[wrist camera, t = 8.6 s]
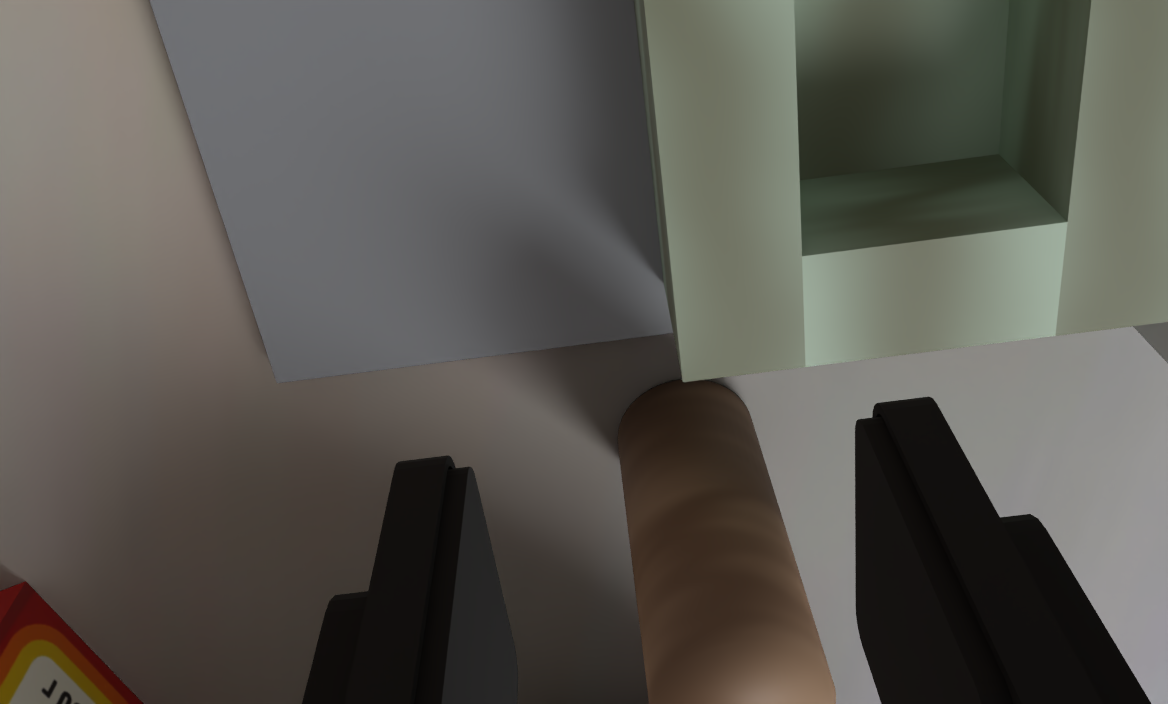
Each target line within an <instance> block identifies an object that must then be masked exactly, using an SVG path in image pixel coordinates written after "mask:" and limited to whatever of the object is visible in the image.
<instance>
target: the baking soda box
mask: <svg viewBox="0 0 1168 704" xmlns="http://www.w3.org/2000/svg"><path fill="white" fill-rule="evenodd" d="M0 704H143V703H142V702H141V701H140V700H139V699H138V698H137V697H136V696H135V695H134V693H133V692H132V691H131V690H130V689H129V688H128V687H127V686H126V685H125V684H124V683H123V682H122V681H121V680H120V679H119V678H118V677H117V676H116V675H115V674H114V673H113V672H112V671H111V670H110V669H109V667H108V666H107V665H106V664H105V663H104V662H103V661H102V660H101V659H100V658H99V657H98V656H97V655H96V654H95V653H94V652H93V651H92V650H91V649H90V648H89V647H88V646H87V645H86V644H85V643H84V641H83V640H82V639H81V638H80V637H79V636H78V635H77V634H76V633H75V632H74V631H73V630H72V629H71V628H70V627H69V626H68V625H67V624H66V623H65V622H64V621H63V620H62V619H61V618H60V617H59V615H58V614H57V613H56V612H55V611H54V610H53V609H52V608H51V607H50V606H49V605H48V604H47V603H46V602H45V601H44V600H43V599H42V598H41V597H40V596H39V595H38V594H37V593H36V592H35V591H34V589H33V588H32V587H31V586H30V585H29V584H28V583H27V582H26V581H25V582H23V583H20V584H17V585H15V586H12V587H10V588H7V589H5V590H2V591H0Z"/></svg>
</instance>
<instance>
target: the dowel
mask: <svg viewBox="0 0 1168 704" xmlns="http://www.w3.org/2000/svg"><path fill="white" fill-rule="evenodd" d="M618 449H619V457H620V465H621V474H622V482H623V490H624V499H625V507H626V515H627V524H628V532H629V540H630V549H631V557H632V565H633V574H634V582H635V591H636V599H637V607H638V616H639V624H640V632H641V641H642V649H643V657H644V666H645V674H646V682H647V691H648V699H649V704H836V692H835V686H834V683H833V680H832V677H831V673H830V670H829V667H828V664H827V661H826V657H825V654H824V651H823V648H822V644H821V641H820V638H819V635H818V632H817V628H816V625H815V622H814V619H813V615H812V612H811V609H810V606H809V603H808V599H807V596H806V593H805V590H804V586H803V583H802V580H801V577H800V574H799V570H798V567H797V564H796V561H795V557H794V554H793V551H792V548H791V545H790V541H789V538H788V535H787V532H786V528H785V525H784V522H783V519H782V516H781V512H780V509H779V506H778V503H777V499H776V496H775V493H774V490H773V487H772V483H771V480H770V477H769V474H768V470H767V467H766V464H765V461H764V458H763V454H762V451H761V448H760V445H759V441H758V438H757V435H756V432H755V429H754V425H753V422H752V419H751V416H750V413H749V411H748V409H747V407H746V405H745V404H744V403H743V401H742V400H741V399H740V398H739V397H738V396H737V395H736V394H735V393H733V392H732V391H730V390H729V389H727V388H725V387H723V386H722V385H719V384H716V383H714V382H710V381H706V380H697V381H689V382H682V380H676V381H671V382H667V383H664V384H661V385H659V386H656V387H654V388H652V389H650V390H649V391H647V392H645V393H644V394H643V395H641V396H640V397H639V398H637V399H636V400H635V401H634V402H633V403H632V404H631V406H630V407H629V408H628V410H627V411H626V413H625V414H624V416H623V418H622V420H621V423H620V426H619V430H618Z"/></svg>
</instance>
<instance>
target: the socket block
mask: <svg viewBox="0 0 1168 704" xmlns="http://www.w3.org/2000/svg"><path fill="white" fill-rule="evenodd" d="M634 9H635V18H636V27H637V37H638V46H639V56H640V65H641V74H642V84H643V93H644V103H645V112H646V121H647V131H648V140H649V149H650V159H651V168H652V178H653V187H654V196H655V206H656V215H657V225H658V234H659V243H660V253H661V262H662V272H663V281H664V288H665V293H666V298H667V303H668V309H669V314H670V319H671V324H672V329H673V335H674V340H675V345H676V350H677V355H678V361H679V366H680V371H681V376H682V382H689V381H697V380H705V379H713V378H722V377H730V376H738V375H746V374H754V373H762V372H770V371H778V370H786V369H794V368H802V367H810V366H818V365H826V364H834V363H842V362H850V361H858V360H866V359H874V358H882V357H890V356H898V355H906V354H914V353H922V352H930V351H938V350H946V349H954V348H962V347H970V346H978V345H986V344H994V343H1002V342H1010V341H1018V340H1026V339H1034V338H1042V337H1051V336H1059V335H1067V334H1075V333H1083V332H1091V331H1099V330H1107V329H1115V328H1123V327H1131V326H1139V325H1147V324H1155V323H1163V322H1168V0H634Z"/></svg>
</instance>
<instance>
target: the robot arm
mask: <svg viewBox="0 0 1168 704" xmlns="http://www.w3.org/2000/svg"><path fill="white" fill-rule="evenodd" d="M855 519H856V616H857V624H858V630H859V634H860V639H861V642H862V646H863V649H864V652H865V655H866V658H867V661H868V664H869V667H870V670H871V673H872V676H873V679H874V682H875V685H876V688H877V691H878V694H879V697H880V700H881V703H882V704H1151V702H1150V701H1149V699H1148V697H1147V696H1146V694H1145V692H1144V691H1143V689H1142V687H1141V686H1140V684H1139V682H1138V681H1137V679H1136V677H1135V676H1134V674H1133V673H1132V671H1131V669H1130V668H1129V666H1128V664H1127V663H1126V661H1125V659H1124V658H1123V656H1122V654H1121V653H1120V651H1119V649H1118V648H1117V646H1116V644H1115V643H1114V641H1113V639H1112V638H1111V636H1110V634H1109V633H1108V631H1107V629H1106V628H1105V626H1104V624H1103V623H1102V621H1101V619H1100V618H1099V616H1098V614H1097V613H1096V611H1095V610H1094V608H1093V606H1092V605H1091V603H1090V601H1089V600H1088V598H1087V596H1086V595H1085V593H1084V591H1083V590H1082V588H1081V586H1080V585H1079V583H1078V581H1077V580H1076V578H1075V576H1074V575H1073V573H1072V571H1071V570H1070V568H1069V566H1068V565H1067V563H1066V561H1065V560H1064V558H1063V556H1062V555H1061V553H1060V551H1059V550H1058V548H1057V546H1056V545H1055V543H1054V542H1053V540H1052V538H1051V537H1050V535H1049V533H1048V532H1047V530H1046V528H1045V527H1044V526H1043V525H1042V523H1041V522H1040V521H1039V519H1038V518H1036V517H1034V516H1033V515H1031V514H1027V515H1018V516H1010V517H1001V518H1000V517H999V515H998V514H997V512H996V510H995V508H994V506H993V504H992V503H991V501H990V499H989V497H988V495H987V494H986V492H985V490H984V488H983V486H982V485H981V483H980V481H979V479H978V477H977V476H976V474H975V472H974V470H973V468H972V467H971V465H970V463H969V461H968V459H967V458H966V456H965V454H964V452H963V450H962V449H961V447H960V445H959V443H958V441H957V440H956V438H955V436H954V434H953V432H952V430H951V429H950V427H949V425H948V423H947V421H946V420H945V418H944V416H943V414H942V412H941V411H940V409H939V407H938V405H937V403H936V402H935V401H934V399H933V398H931V397H923V398H915V399H907V400H898V401H890V402H882V403H876V405H875V406H874V409H873V418H867V419H858V420H857V421H856V426H855ZM517 694H518V669H517V658H516V651H515V646H514V642H513V637H512V633H511V629H510V624H509V620H508V616H507V611H506V607H505V603H504V599H503V594H502V590H501V586H500V581H499V577H498V573H497V568H496V564H495V560H494V555H493V551H492V547H491V543H490V538H489V534H488V530H487V525H486V521H485V517H484V512H483V508H482V504H481V500H480V495H479V491H478V487H477V482H476V478H475V474H474V471H473V469H472V468H471V467H464V468H455V465H454V462H453V460H452V458H451V457H450V456H441V457H433V458H425V459H417V460H408V461H400V462H398V463H397V464H396V466H395V469H394V473H393V478H392V483H391V487H390V492H389V497H388V501H387V506H386V511H385V515H384V520H383V525H382V530H381V534H380V539H379V544H378V548H377V553H376V558H375V562H374V567H373V572H372V577H371V581H370V586H369V591H367V592H359V593H350V594H341V595H335V596H334V597H333V598H332V599H331V600H330V601H329V604H328V607H327V610H326V612H325V616H324V620H323V624H322V627H321V631H320V635H319V639H318V643H317V647H316V651H315V655H314V659H313V663H312V667H311V670H310V674H309V678H308V682H307V686H306V690H305V694H304V698H303V702H302V704H517Z"/></svg>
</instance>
